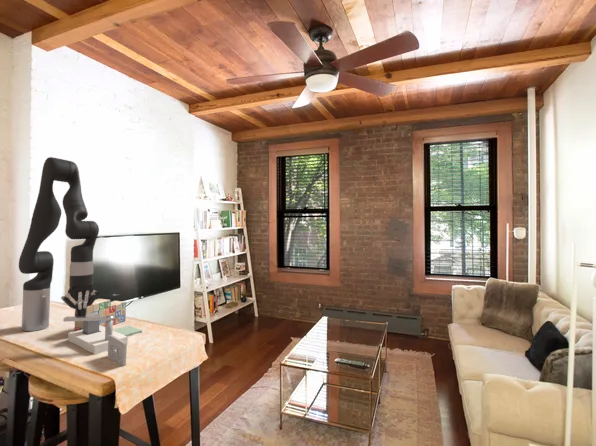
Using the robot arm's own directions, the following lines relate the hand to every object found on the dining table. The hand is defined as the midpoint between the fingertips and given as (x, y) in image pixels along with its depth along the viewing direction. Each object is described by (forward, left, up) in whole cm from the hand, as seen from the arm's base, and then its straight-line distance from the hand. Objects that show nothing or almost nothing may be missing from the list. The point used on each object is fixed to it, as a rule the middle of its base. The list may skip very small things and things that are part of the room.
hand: (80, 318), depth 122 cm
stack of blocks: (-16, +16, -11) cm, 25 cm away
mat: (-1, +18, -11) cm, 21 cm away
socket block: (+1, +6, -11) cm, 12 cm away
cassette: (+23, +2, -11) cm, 25 cm away
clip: (+5, +1, 0) cm, 5 cm away
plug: (-4, +6, -11) cm, 13 cm away
